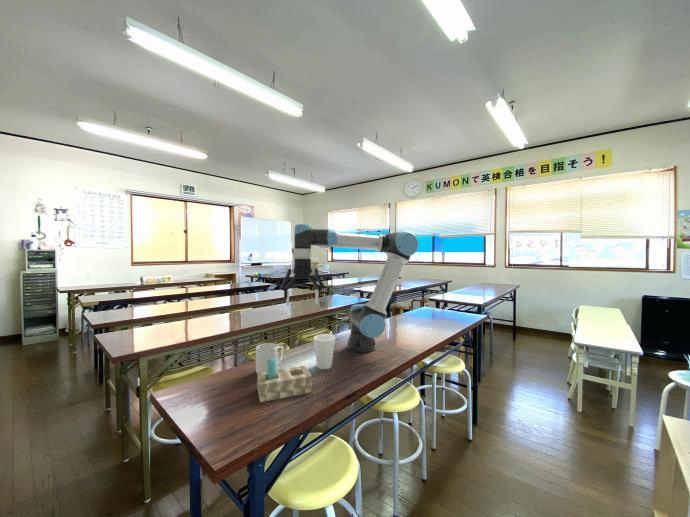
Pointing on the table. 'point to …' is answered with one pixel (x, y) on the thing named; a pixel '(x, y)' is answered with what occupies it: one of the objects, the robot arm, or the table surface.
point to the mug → (267, 356)
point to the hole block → (284, 383)
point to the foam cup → (324, 350)
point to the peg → (271, 368)
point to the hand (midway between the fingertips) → (302, 304)
